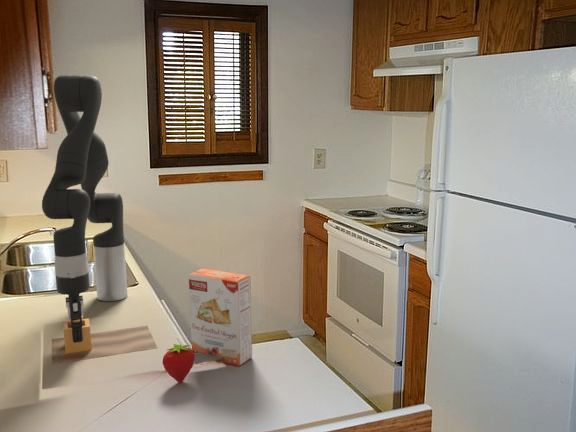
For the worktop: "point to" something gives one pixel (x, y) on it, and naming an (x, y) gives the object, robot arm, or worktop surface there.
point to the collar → (68, 337)
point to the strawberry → (178, 361)
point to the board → (106, 344)
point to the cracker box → (221, 315)
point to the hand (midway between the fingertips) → (77, 335)
